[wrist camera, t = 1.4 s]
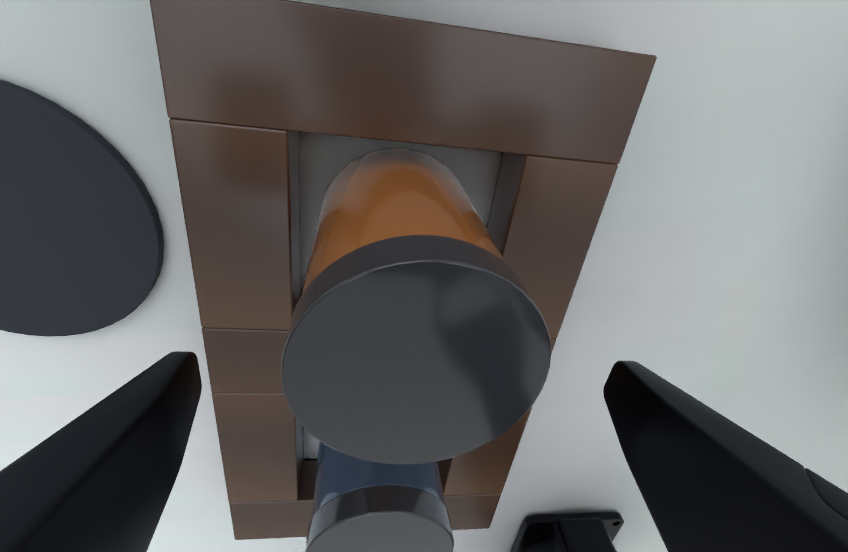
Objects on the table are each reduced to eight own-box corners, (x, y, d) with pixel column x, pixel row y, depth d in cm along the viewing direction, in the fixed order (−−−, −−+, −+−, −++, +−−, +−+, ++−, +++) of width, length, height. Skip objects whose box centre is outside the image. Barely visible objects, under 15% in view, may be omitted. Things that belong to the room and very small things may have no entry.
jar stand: (480, 490, 25) (489, 529, 23) (244, 497, 23) (234, 541, 21) (617, 50, 14) (657, 56, 12) (180, -15, 12) (145, -21, 10)
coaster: (181, 333, 17) (178, 340, 17) (-87, 326, 16) (-97, 333, 15) (136, 89, 13) (129, 91, 12) (-245, 47, 11) (-264, 48, 11)
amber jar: (458, 290, 18) (516, 463, 11) (317, 284, 17) (284, 468, 10) (485, 153, 15) (587, 269, 8) (317, 136, 14) (273, 251, 7)
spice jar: (423, 447, 22) (442, 589, 17) (320, 448, 22) (304, 598, 16) (437, 371, 20) (466, 509, 14) (321, 369, 19) (303, 515, 13)
